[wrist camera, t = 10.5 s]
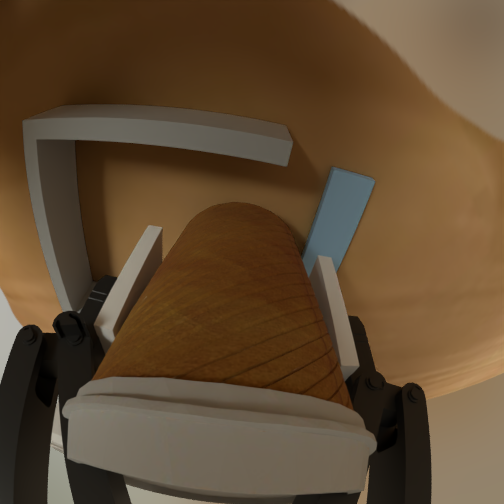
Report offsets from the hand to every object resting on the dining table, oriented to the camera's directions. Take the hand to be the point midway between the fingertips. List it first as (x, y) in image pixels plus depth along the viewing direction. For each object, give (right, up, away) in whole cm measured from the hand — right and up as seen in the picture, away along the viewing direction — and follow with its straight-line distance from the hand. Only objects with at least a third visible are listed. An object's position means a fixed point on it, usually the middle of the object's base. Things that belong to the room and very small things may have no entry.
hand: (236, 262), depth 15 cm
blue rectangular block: (+5, 0, +2) cm, 5 cm away
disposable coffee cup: (0, 0, +1) cm, 1 cm away
